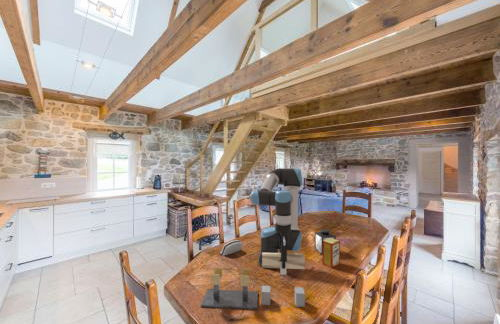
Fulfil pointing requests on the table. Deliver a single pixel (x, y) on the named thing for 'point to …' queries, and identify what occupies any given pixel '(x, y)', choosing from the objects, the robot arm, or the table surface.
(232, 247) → the grey curved block
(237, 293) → the bracket stand
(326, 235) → the lantern
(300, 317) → the table surface
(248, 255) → the table surface
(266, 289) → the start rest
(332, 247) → the baking soda box
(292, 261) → the beige long block
